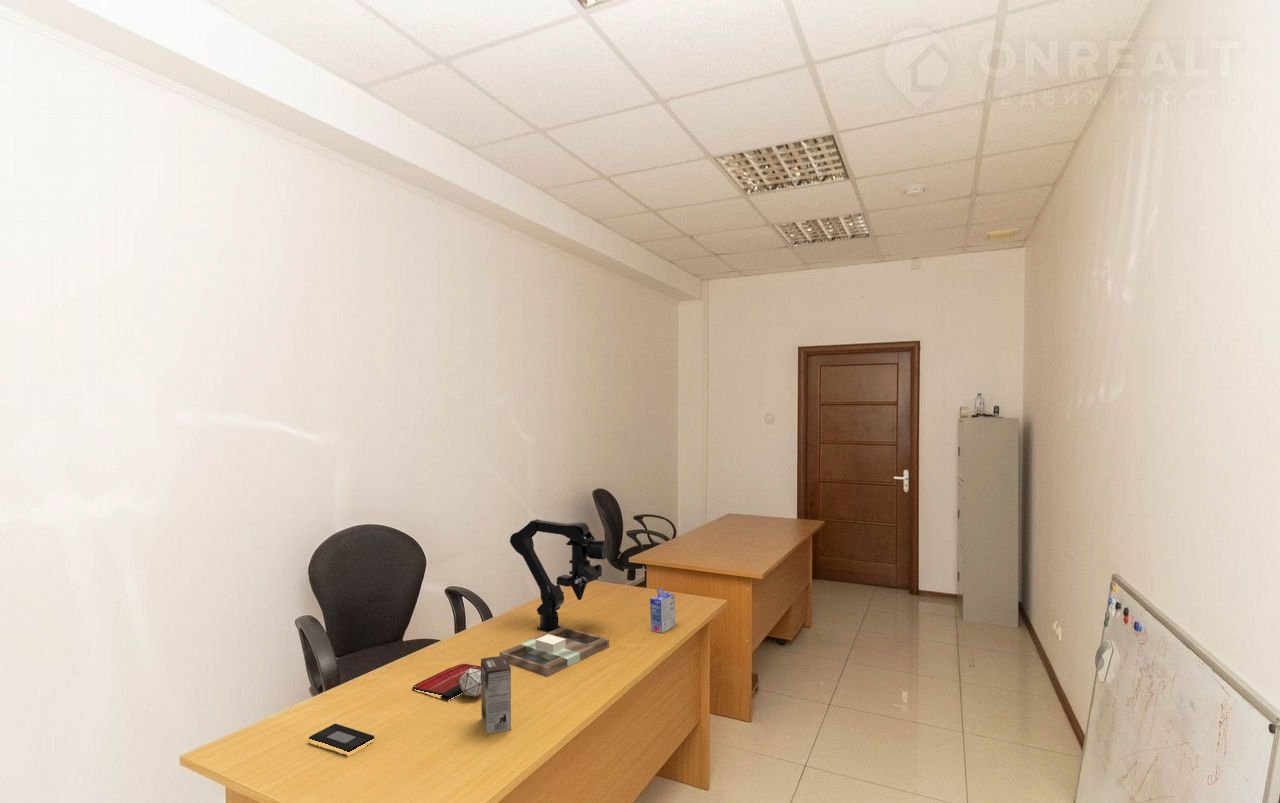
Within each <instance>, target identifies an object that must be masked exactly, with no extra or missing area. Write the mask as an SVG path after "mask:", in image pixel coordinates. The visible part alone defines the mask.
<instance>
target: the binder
mask: <svg viewBox="0 0 1280 803" xmlns="http://www.w3.org/2000/svg"><path fill="white" fill-rule="evenodd" d="M468 666H469V667H470V668H472V669H479V670H481V665H476V664H469V663H460V664H458V665H454V666H452V667H449V668H447V669H444V670H442V671H440V672H438V673H436V674H434V675H432V676H430V677H428V678H426V679H423V680H421V681H420V682H418V683H416V684H415V685H413V686H412V689H413V688H414V689H416V690H420V691H424V692H429V693H434V694H438V695H442V696H447V697H446V698H447V701H448V700H449V699H451V698H453V697H455V696H457V695H459V694H461V693H463V692H462V689H461V687H460V684H459V682H456V680H459V679H460V678H461V677H462V676H463V675H464V673H465V672H466V671H467V670H468ZM415 686H416V687H415Z"/></svg>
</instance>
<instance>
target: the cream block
mask: <svg viewBox="0 0 1280 803" xmlns="http://www.w3.org/2000/svg"><path fill="white" fill-rule="evenodd" d="M565 648H566V639H564V638H560V637H556V636H553V635H549V634H548V635H545V636H543V637H540V638H538V639H536V649H539V650H542V651H545V652H549V653H552V654H554V653H556V652H558V651H560V650H563V649H565Z"/></svg>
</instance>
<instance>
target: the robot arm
mask: <svg viewBox="0 0 1280 803" xmlns="http://www.w3.org/2000/svg"><path fill="white" fill-rule="evenodd" d="M538 532H539V533H547V534H554V535H561V536H564V537H566V538H567V539H569V541H567V542H566V544H565V545H566V546H571V559H569V562H568V563H569V564H571V570H570V571H569V574H562V575H559V576H557V578H556V585H555V584H554V583H552V581H551V579H550V577H549V575H548V573H547V571H546V570H545V568H544V566H543V564H542V562H541V561H540V559H539V557H538V555H537V554H536V551H535V548H534V547H535V546H534V544H535V543H534V539H533V537H534V536H535V535H536V534H537V533H538ZM509 543H510V545H511V547H512V548H513V550H514V551H515V552H516V553H518V554H519V555H520V556H522V558H523V560H524V562H525V563H526V566H527V568H528V569H529V571H530V573H531V575H532V576H533V579H534V580H535V582H536V585H537V586H538V589H539V590H540V600H541V604H540V605H539V606H538V607H537V608H536V611H537V615H539V620H540V622H539V624H540V625H539V626H537V630H541V631H544V632H546V633H549V632H551V631H553V630H556V629H558V628H561V627H562V626H561V625H559V612H558V611H559V610H560V608H561V606H562V605H563V604H564V602H565V596H564V594H565V592H563V589H562V588H561V586H563V587H567V588H568V587H571V589H572V590H573V592H574V594H575V597H576V599H577V601H581V600H582V598H583V595H584V592H585V589H586V587H587V585H588V584H589V583H590V582H593V581H598V580H599V578H600V577H602V574H603V573H602V572H603V567H602V565H601V564H595V565H591V561H590V559H592V560H593V559H594V560H603V561H605V560H606V559H607V557H608V552H609V551H608V546H607V544H606V540H596V538H595V537H594V535H593V534H592V531H590V527H589V526H588V524H587V523H586V522H582V521H581V522H570V523H563V522H557V521H556V522H555V521H549V520H542V519H534V520H531V521H530V522H528V523H527V525H525V526H524V527H523V528H521V529H520V530H519V531H517V532H514V533H512V534H511V536H510V538H509ZM588 558H589V559H588Z"/></svg>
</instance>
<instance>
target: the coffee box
mask: <svg viewBox="0 0 1280 803" xmlns="http://www.w3.org/2000/svg"><path fill="white" fill-rule="evenodd" d="M480 666H481V693H480V694H481V695H480V698H481V702H480V704H481V722H482V724H483V726H484V729H485V732H486V735H491V734H490V733H492V734H496V733H495V732H497V733H500V731H502V732H506V730H507V731H511V730H512V727H511V726H512V716H511V714H512V709H511V708H512V667H511V664H510V663H508V662H507V660H506V658H505V656H500V655H498V656H489V657H483V658H481V659H480ZM510 729H511V730H510Z"/></svg>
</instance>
